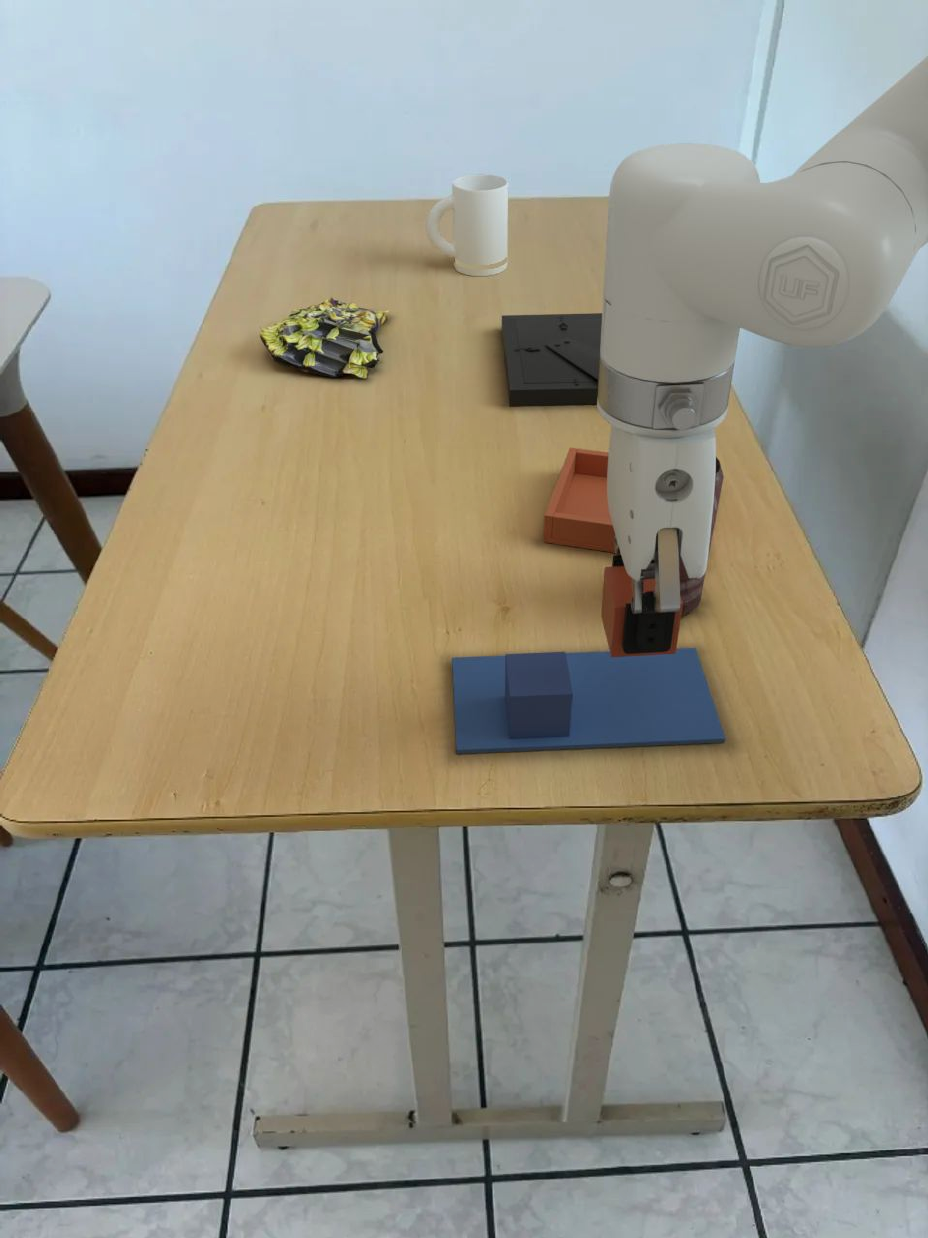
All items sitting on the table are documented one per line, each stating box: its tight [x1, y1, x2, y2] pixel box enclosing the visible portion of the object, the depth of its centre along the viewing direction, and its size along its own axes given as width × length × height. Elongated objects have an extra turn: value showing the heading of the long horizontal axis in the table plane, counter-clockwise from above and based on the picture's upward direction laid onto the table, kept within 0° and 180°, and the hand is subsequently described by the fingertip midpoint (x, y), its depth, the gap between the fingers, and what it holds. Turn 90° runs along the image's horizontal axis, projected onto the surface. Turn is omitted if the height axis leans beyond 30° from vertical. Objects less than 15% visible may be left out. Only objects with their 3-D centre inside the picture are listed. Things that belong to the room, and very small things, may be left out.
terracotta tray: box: [542, 447, 621, 555], centre depth 93 cm, size 15×13×3 cm
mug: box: [425, 173, 509, 277], centre depth 140 cm, size 8×12×12 cm
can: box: [679, 456, 724, 618], centre depth 80 cm, size 6×6×14 cm
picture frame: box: [501, 312, 602, 407], centre depth 118 cm, size 16×3×21 cm
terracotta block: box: [600, 565, 683, 657], centre depth 66 cm, size 4×4×4 cm
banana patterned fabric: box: [259, 296, 390, 379], centre depth 124 cm, size 20×16×7 cm
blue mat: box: [451, 647, 727, 755], centre depth 75 cm, size 20×10×1 cm, turn 92°
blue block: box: [505, 651, 573, 739], centre depth 71 cm, size 4×4×4 cm
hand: (638, 622), depth 67 cm, fingers closed on terracotta block, 4 cm apart
